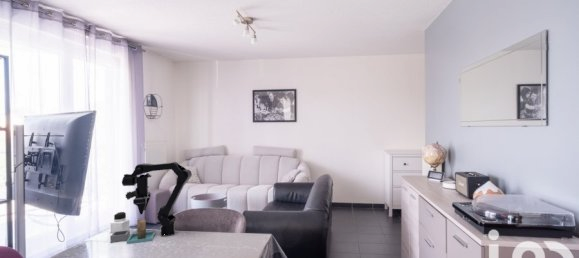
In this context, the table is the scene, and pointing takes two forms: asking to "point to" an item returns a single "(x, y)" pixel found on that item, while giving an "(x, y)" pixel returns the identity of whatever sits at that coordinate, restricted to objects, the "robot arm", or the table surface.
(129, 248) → the table surface
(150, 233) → the tray
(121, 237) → the grey square open box
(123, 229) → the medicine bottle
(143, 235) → the walnut dowel
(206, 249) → the table surface
